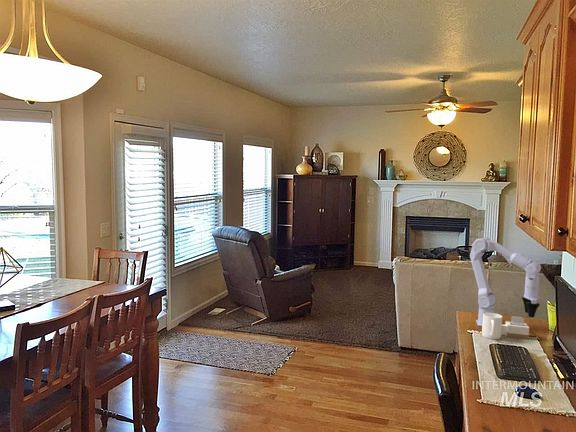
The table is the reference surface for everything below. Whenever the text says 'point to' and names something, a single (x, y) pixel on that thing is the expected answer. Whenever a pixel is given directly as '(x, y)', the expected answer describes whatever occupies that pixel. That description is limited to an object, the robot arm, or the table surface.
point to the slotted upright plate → (515, 330)
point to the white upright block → (517, 321)
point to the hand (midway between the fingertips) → (529, 314)
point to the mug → (492, 326)
